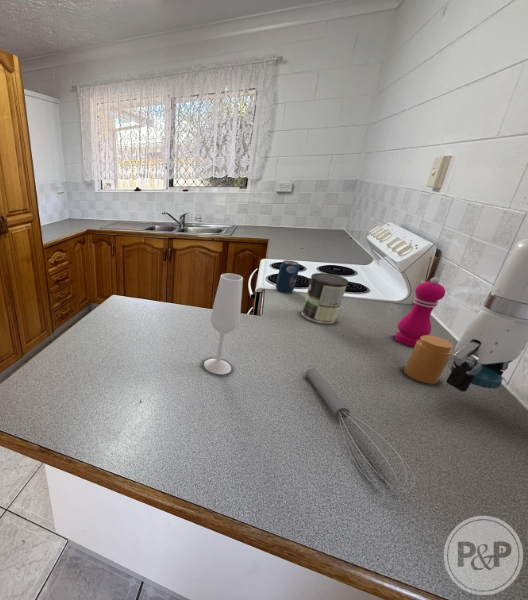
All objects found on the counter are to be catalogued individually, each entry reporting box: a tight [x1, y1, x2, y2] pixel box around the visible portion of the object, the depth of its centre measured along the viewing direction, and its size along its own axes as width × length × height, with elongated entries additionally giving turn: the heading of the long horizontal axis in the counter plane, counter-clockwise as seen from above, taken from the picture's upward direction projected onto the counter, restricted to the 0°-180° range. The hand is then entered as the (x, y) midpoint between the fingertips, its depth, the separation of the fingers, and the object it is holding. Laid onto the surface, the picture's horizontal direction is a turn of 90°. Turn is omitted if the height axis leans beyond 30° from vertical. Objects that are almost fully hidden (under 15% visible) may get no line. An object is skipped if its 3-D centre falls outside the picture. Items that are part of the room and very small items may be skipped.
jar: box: [403, 335, 454, 385], centre depth 75 cm, size 6×6×10 cm
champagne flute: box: [203, 273, 244, 375], centre depth 74 cm, size 7×7×24 cm
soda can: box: [275, 259, 300, 294], centre depth 126 cm, size 7×7×12 cm
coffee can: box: [301, 272, 349, 325], centre depth 103 cm, size 10×10×14 cm
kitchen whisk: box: [305, 365, 416, 497], centre depth 61 cm, size 6×34×6 cm, turn 172°
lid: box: [450, 360, 504, 389], centre depth 63 cm, size 7×7×2 cm
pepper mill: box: [394, 276, 446, 347], centre depth 88 cm, size 7×7×20 cm
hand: (469, 384), depth 64 cm, fingers closed on lid, 6 cm apart
